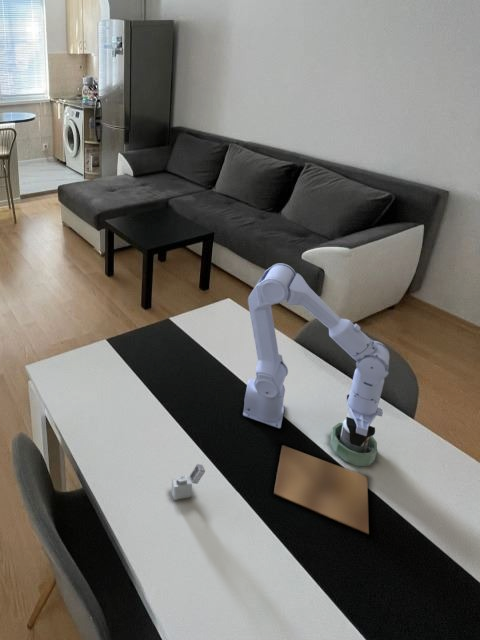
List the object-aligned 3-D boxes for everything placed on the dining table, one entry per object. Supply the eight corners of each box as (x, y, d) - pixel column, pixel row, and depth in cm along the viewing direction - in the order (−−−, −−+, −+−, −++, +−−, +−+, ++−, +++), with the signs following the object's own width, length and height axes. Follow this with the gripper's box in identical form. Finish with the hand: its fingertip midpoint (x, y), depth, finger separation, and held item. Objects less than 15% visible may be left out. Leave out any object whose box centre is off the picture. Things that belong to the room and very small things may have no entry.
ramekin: (329, 455, 104) (332, 445, 103) (331, 427, 111) (333, 417, 110) (374, 472, 100) (377, 461, 98) (373, 442, 107) (376, 431, 105)
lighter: (174, 500, 96) (174, 475, 93) (171, 492, 98) (172, 468, 95) (203, 494, 97) (205, 469, 94) (200, 487, 99) (202, 462, 96)
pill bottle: (369, 460, 102) (377, 430, 99) (343, 457, 103) (350, 427, 100) (360, 440, 107) (367, 410, 104) (335, 437, 109) (341, 407, 105)
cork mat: (273, 494, 96) (273, 492, 96) (281, 446, 107) (282, 444, 107) (368, 534, 87) (368, 533, 87) (366, 477, 98) (367, 476, 98)
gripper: (388, 420, 91) (376, 465, 96) (384, 376, 102) (373, 418, 107) (349, 408, 94) (339, 452, 99) (350, 367, 106) (341, 408, 111)
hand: (355, 434), depth 104 cm, fingers closed on pill bottle, 6 cm apart
